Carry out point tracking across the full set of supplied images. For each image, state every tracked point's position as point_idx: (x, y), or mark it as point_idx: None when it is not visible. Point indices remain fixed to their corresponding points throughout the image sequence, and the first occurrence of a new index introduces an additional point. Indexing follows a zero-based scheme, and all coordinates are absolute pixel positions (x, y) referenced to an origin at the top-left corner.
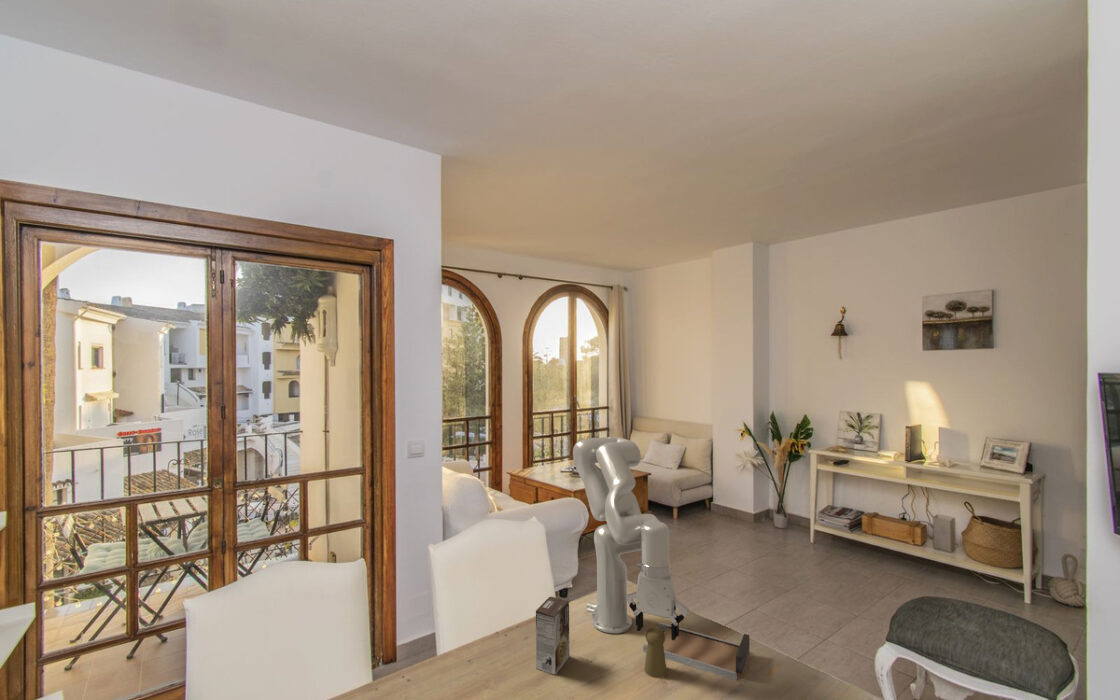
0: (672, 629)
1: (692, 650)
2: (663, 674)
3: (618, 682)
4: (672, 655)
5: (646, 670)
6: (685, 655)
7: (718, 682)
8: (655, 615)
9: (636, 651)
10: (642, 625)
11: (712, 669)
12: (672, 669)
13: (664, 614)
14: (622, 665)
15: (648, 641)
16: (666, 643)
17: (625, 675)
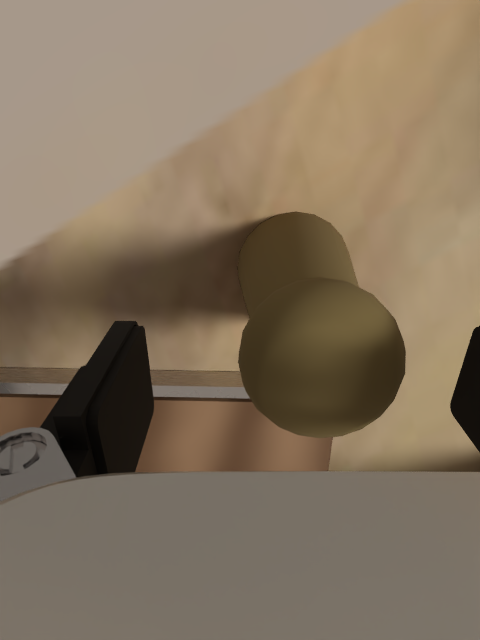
0: (90, 380)
1: (178, 449)
2: (244, 248)
3: (465, 56)
4: (243, 385)
5: (331, 228)
6: (192, 409)
7: (20, 322)
8: (346, 472)
9: (415, 360)
10: (465, 403)
11: (62, 377)
12: (223, 314)
13: (99, 533)
14: (466, 225)
15: (360, 289)
16: (295, 448)
17: (435, 148)
